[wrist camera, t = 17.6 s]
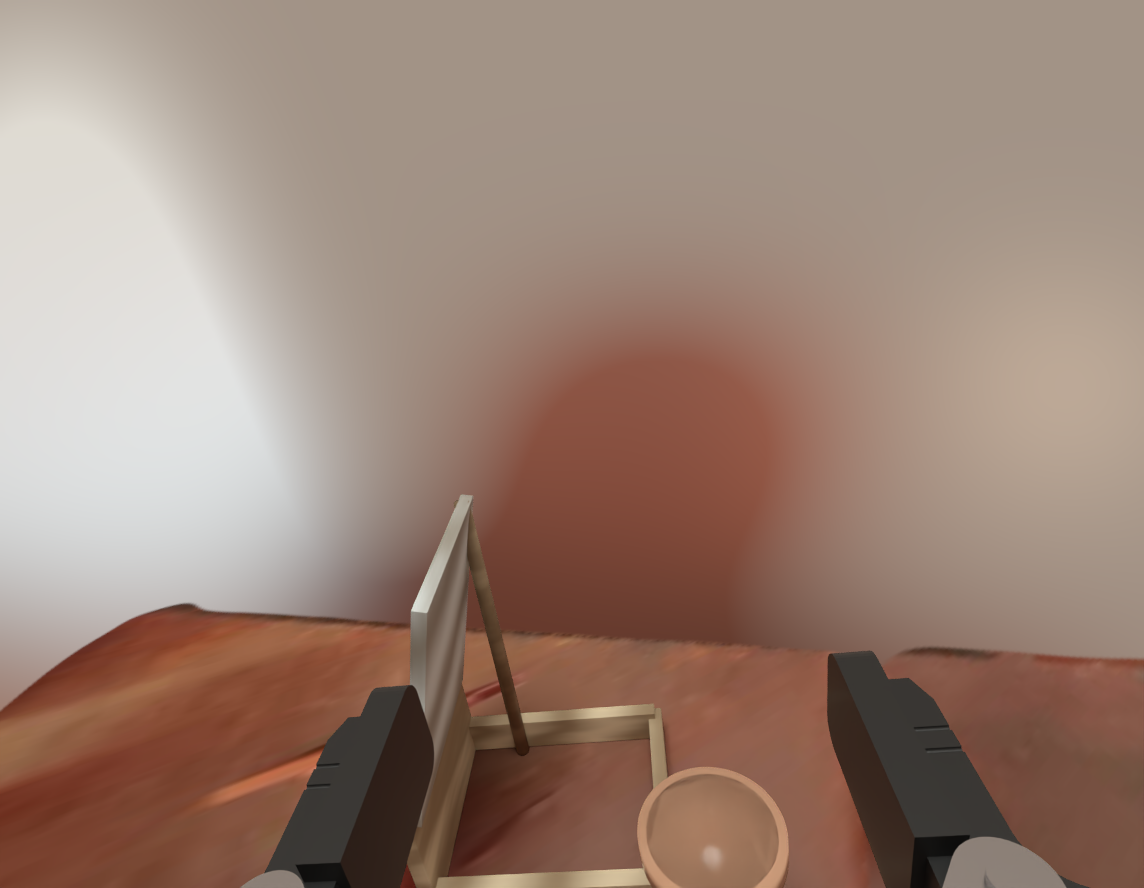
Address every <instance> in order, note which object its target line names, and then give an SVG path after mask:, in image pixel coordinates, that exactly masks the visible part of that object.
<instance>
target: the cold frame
mask: <svg viewBox="0 0 1144 888" xmlns="http://www.w3.org/2000/svg"><path fill="white" fill-rule="evenodd" d="M454 507H455V510H454V512H453V515H452V517H451V520H450V522H449V524H448V526H447V529H446V531H445V533H444V536H443V538H442V541H441V543H440V545H439V547H438V550H437V552H436V554H435V557H434V559H433V561H432V563H431V566H430V568H429V570H428V573H427V575H426V577H425V580H424V583H423V584H422V587H421V589H420V592H419V594H418V596H417V598H416V601H415V603H414V605H413V608H412V610H411V653H410V685H413V686H414V687H415V688H416V690H417V693H418V696H419V699H420V702H421V705H422V708H423V711H424V714H425V717H426V720H427V724H428V727H429V730H430V733H431V736H432V739H433V744H434V766H433V772H432V776H431V780H430V783H429V787H428V790H427V794H426V797H425V801H424V804H423V808H422V811H421V815H420V818H419V822H418V825H417V829H416V833H415V836H414V840H413V843H412V847H411V850H410V854H409V857H408V861H407V864H408V867H409V870H410V872H411V875H412V877H413V880H414V883H415V885H416V888H652V887H651V885H650V883H649V881H648V879H647V877H646V875H645V872H644V870H643V868H640V869H618V870H596V871H574V872H551V873H529V874H507V875H484V876H462V877H447V876H448V871H449V867H450V862H451V858H452V853H453V849H454V844H455V840H456V836H457V831H458V827H459V822H460V818H461V813H462V809H463V804H464V800H465V795H466V791H467V786H468V782H469V777H470V773H471V768H472V764H473V759H474V755H475V750H483V749H498V748H513V747H516V750H517V753H518V754H519V755H525V754H527V753H528V752H529V746H543V745H558V744H573V743H588V742H603V741H618V740H633V739H649V738H650V746H651V761H652V776H653V789H654V788H655V787H656V786H657V785H658V784H659V783H661V782H662V781H663V780H665V779H666V778H668V772H667V762H666V751H665V740H664V729H663V721H662V713H661V708H656V709H654V704H644V705H630V706H616V707H602V708H588V709H574V710H560V711H546V712H533V713H521V712H520V708H519V704H518V700H517V696H516V692H515V688H514V684H513V679H512V675H511V671H510V667H509V663H508V659H507V655H506V651H505V647H504V643H503V638H502V634H501V630H500V626H499V622H498V618H497V614H496V610H495V606H494V601H493V597H492V593H491V589H490V585H489V581H488V577H487V573H486V569H485V565H484V561H483V557H482V552H481V548H480V544H479V540H478V536H477V532H476V528H475V524H474V519H473V515H472V507H473V496H469V495H461V496H460V499H459V500H457V501H455V502H454ZM469 566H470V570H471V574H472V578H473V582H474V585H475V590H476V593H477V597H478V601H479V605H480V609H481V613H482V617H483V621H484V624H485V629H486V633H487V637H488V641H489V645H490V648H491V652H492V656H493V660H494V664H495V668H496V672H497V676H498V680H499V684H500V688H501V692H502V696H503V699H504V703H505V707H506V711H507V714H505V715H491V716H477V717H471V714H470V710H469V707H468V703H467V700H466V696H465V693H464V689H463V686H462V680H463V668H464V650H465V633H466V613H467V597H468V596H467V595H468V579H469Z"/></svg>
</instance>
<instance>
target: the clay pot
mask: <svg viewBox="0 0 1144 888" xmlns="http://www.w3.org/2000/svg"><path fill="white" fill-rule="evenodd" d="M637 836H638V844H639V851H640V857H641V862H642V866H643V870H644V872H645V875H646V877H647V879H648V881H649V883H650V885H651V887H652V888H783V886H784V884H785V882H786V878H787V874H788V866H789V852H788V834H787V828H786V824H785V821H784V818H783V816H782V814H781V812H780V810H779V808H778V807H777V805H776V803H775V802H774V801H773V799H772V798H771V797H770V796H769V794H768V793H767V792H766V791H764V790H763V789H762V788H761V787H760V786H759V785H757V784H756V783H755V782H753V781H752V780H750V779H748V778H747V777H745V776H743V775H741V774H739V773H736V772H733V771H730V770H726V769H722V768H715V767H697V768H691V769H686V770H683V771H680V772H677V773H675V774H673V775H671V776H669V777H668V778H666V779H665V780H663V781H662V782H661V783H659V784H658V785H657V786H656V787H655V788H654V789H653V790H652V791H651V793H650V794H649V795H648V797H647V798H646V800H645V802H644V804H643V806H642V808H641V811H640V815H639V819H638V826H637Z"/></svg>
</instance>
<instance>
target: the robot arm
mask: <svg viewBox="0 0 1144 888" xmlns="http://www.w3.org/2000/svg"><path fill="white" fill-rule="evenodd" d="M827 716H828V725H829V731H830V736H831V740H832V744H833V747H834V750H835V753H836V755H837V758H838V761H839V763H840V766H841V769H842V771H843V774H844V777H845V779H846V782H847V785H848V788H849V790H850V793H851V796H852V798H853V801H854V804H855V806H856V809H857V812H858V814H859V817H860V820H861V822H862V825H863V828H864V830H865V833H866V836H867V838H868V841H869V844H870V846H871V849H872V852H873V854H874V857H875V860H876V862H877V865H878V868H879V870H880V873H881V876H882V878H883V881H884V884H885V886H886V888H1089V887H1086V886H1083V885H1079V884H1077V883H1075V882H1072V881H1070V880H1067V879H1066V878H1064V877H1062V876H1060V875H1058V874H1057V873H1056V872H1055V871H1054V870H1053V869H1052V868H1051V867H1050V866H1049V865H1048V864H1047V863H1046V862H1045V861H1044V860H1043V859H1041V858H1040V857H1039V856H1037V855H1036V854H1034V853H1033V852H1031V851H1030V850H1028V849H1026V848H1025V847H1023V846H1022V845H1021V844H1020V843H1019V842H1018V840H1017V839H1016V837H1015V836H1014V834H1013V833H1012V831H1011V830H1010V828H1009V826H1008V825H1007V823H1006V821H1005V820H1004V818H1003V816H1002V814H1001V813H1000V811H999V809H998V808H997V806H996V804H995V803H994V801H993V799H992V797H991V796H990V794H989V792H988V791H987V789H986V787H985V786H984V784H983V782H982V780H981V779H980V777H979V775H978V774H977V772H976V770H975V769H974V767H973V765H972V763H971V762H970V760H969V758H968V757H967V755H966V753H965V752H963V751H962V748H961V745H960V743H959V741H958V740H957V738H956V736H955V735H954V733H953V731H952V730H950V729H949V724H948V723H947V721H946V719H945V718H944V716H943V714H942V713H941V711H940V709H939V707H938V706H937V704H936V702H935V701H934V699H933V698H932V697H930V696H929V695H928V694H927V693H926V692H924V691H923V690H922V689H921V688H920V687H919V686H917V685H916V684H915V683H914V682H913V681H911V680H910V679H909V678H902V679H888V678H887V676H886V674H885V672H884V670H883V668H882V666H881V665H880V663H879V661H878V659H877V657H876V655H875V654H874V653H873V652H872V651H859V652H846V653H834V654H829V656H828V696H827ZM316 765H317V768H316V769H314V771H313V773H312V775H311V777H310V779H309V781H308V783H307V789H306V790H304V792H303V794H302V796H301V798H300V800H299V802H298V804H297V806H296V808H295V810H294V813H293V815H292V817H291V819H290V821H289V823H288V825H287V827H286V829H285V831H284V834H283V836H282V838H281V840H280V842H279V844H278V846H277V848H276V850H275V852H274V854H273V857H272V859H271V861H270V863H269V865H268V867H267V869H266V871H265V872H264V874H262V875H259V876H257V877H255V878H253V879H252V880H250V881H249V882H247V883H246V884H244V885H243V886H242V887H241V888H400V885H401V882H402V878H403V875H404V871H405V868H406V864H407V861H408V857H409V854H410V850H411V847H412V843H413V840H414V836H415V833H416V829H417V825H418V822H419V818H420V815H421V811H422V808H423V804H424V801H425V797H426V794H427V790H428V787H429V783H430V780H431V776H432V772H433V766H434V744H433V739H432V736H431V733H430V730H429V727H428V724H427V720H426V717H425V714H424V711H423V708H422V705H421V702H420V699H419V696H418V693H417V690H416V688H415V687H414V686H413V685H406V686H393V687H381V688H375V689H374V690H373V691H372V692H371V694H370V696H369V698H368V700H367V703H366V705H365V707H364V709H363V712H362V714H361V716H360V717H350V718H348V719H347V720H346V721H345V722H344V723H343V724H342V725H341V726H340V727H339V728H338V730H337V731H336V732H335V733H334V734H333V735H332V736H331V737H330V738H329V739H328V741H327V743H326V745H325V748H324V750H323V752H322V754H321V756H320V758H319V760H318V762H317V764H316Z"/></svg>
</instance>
